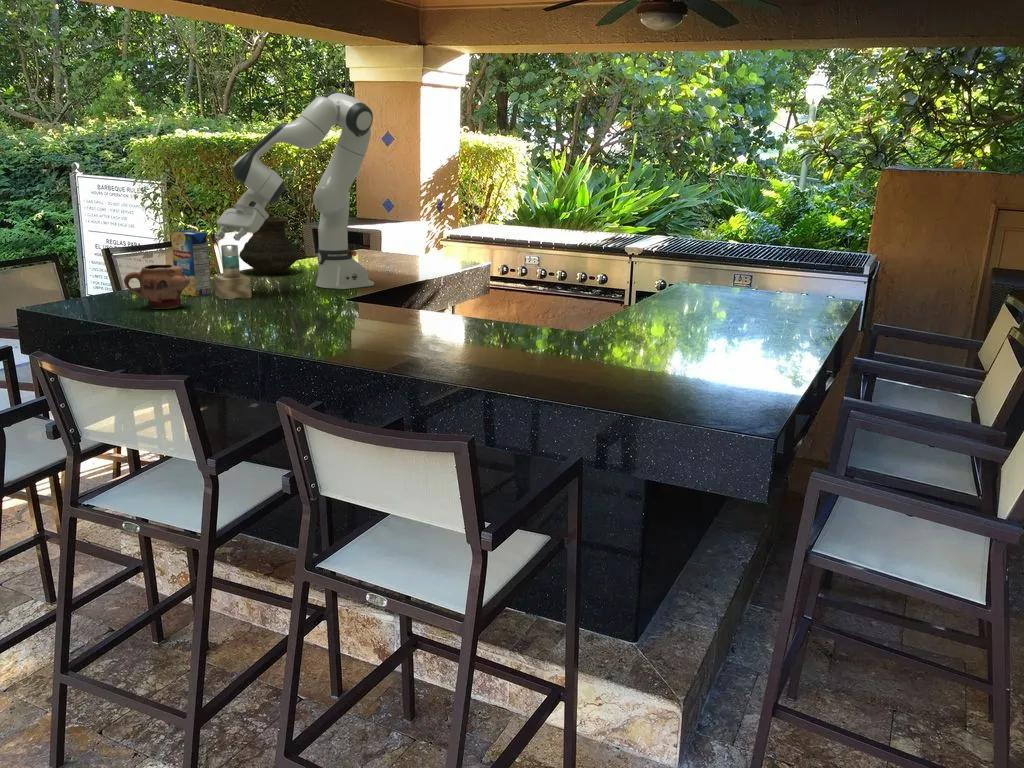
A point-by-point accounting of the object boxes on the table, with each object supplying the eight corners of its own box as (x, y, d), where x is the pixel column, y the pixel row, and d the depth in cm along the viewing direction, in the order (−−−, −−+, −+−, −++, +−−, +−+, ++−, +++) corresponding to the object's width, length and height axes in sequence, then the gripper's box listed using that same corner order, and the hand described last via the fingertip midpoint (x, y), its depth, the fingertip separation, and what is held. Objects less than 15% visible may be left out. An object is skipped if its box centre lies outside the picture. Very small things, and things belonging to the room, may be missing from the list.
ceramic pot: (296, 277, 349) (294, 221, 343) (235, 276, 346) (232, 220, 339) (303, 268, 372) (301, 216, 365) (245, 267, 368) (242, 215, 362)
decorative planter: (128, 313, 273) (123, 269, 270) (125, 306, 284) (121, 264, 280) (194, 309, 282) (190, 267, 278) (189, 302, 293) (186, 261, 289)
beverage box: (196, 296, 303) (191, 234, 297) (175, 293, 308) (170, 231, 302) (211, 294, 308) (207, 232, 302) (191, 290, 314) (186, 230, 308)
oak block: (243, 293, 312) (242, 274, 310) (251, 297, 304) (250, 278, 302) (215, 295, 307) (213, 275, 305) (222, 299, 299) (221, 279, 297)
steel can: (237, 275, 307) (235, 244, 304) (242, 277, 303) (240, 246, 300) (221, 276, 304) (218, 245, 301) (225, 278, 300) (223, 247, 297)
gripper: (225, 201, 308) (204, 230, 304) (260, 203, 297) (239, 234, 292) (237, 212, 313) (216, 242, 308) (272, 216, 301) (251, 246, 296)
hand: (227, 238), depth 300 cm, fingers open, 8 cm apart
